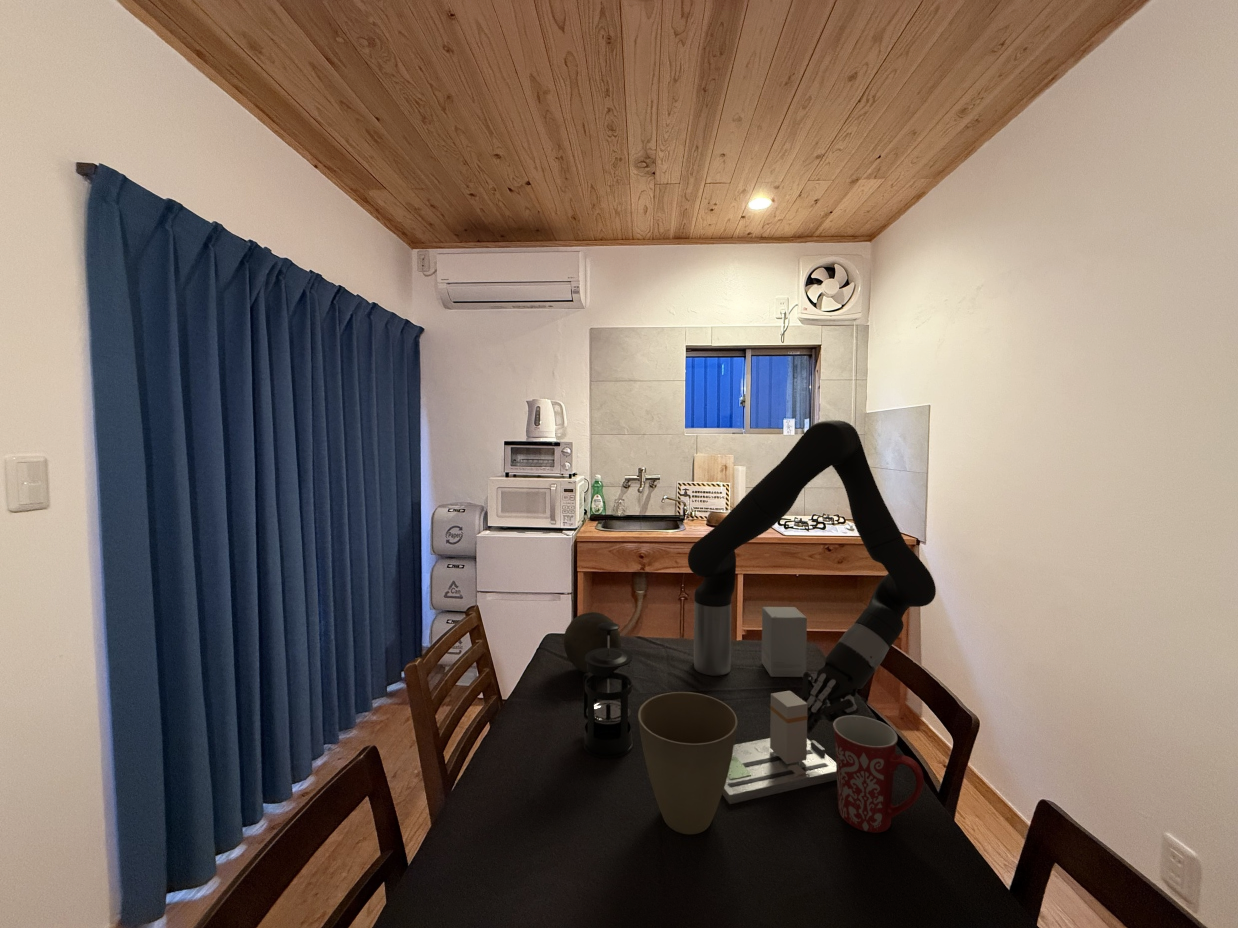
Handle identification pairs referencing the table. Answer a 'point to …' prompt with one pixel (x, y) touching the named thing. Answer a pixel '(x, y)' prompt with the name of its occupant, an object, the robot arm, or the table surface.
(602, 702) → the french press
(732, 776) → the console
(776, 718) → the fader knob
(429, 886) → the table surface
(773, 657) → the supplement box
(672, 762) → the plant pot
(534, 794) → the table surface
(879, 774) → the mug
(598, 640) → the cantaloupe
